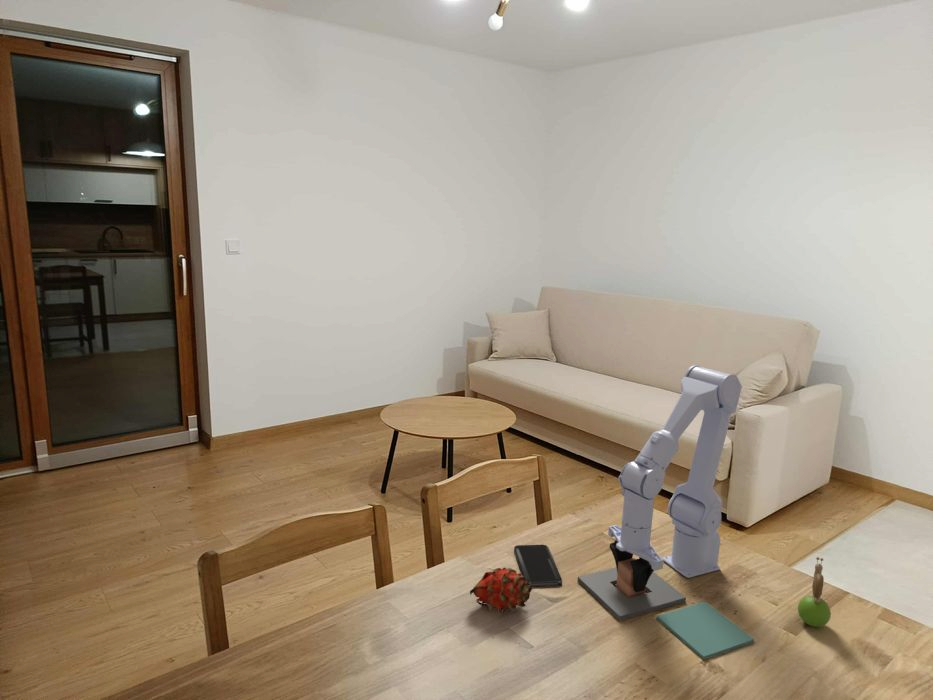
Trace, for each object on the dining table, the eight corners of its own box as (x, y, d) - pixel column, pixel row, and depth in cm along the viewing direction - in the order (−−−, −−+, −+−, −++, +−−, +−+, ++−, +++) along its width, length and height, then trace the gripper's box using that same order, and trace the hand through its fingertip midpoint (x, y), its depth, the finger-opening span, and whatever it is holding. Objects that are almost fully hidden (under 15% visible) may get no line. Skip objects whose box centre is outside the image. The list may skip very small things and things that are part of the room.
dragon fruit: (535, 617, 121) (474, 624, 121) (529, 574, 126) (470, 580, 127) (535, 602, 114) (470, 609, 115) (528, 557, 120) (466, 564, 120)
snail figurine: (826, 616, 121) (836, 560, 118) (829, 636, 115) (839, 577, 112) (795, 608, 123) (803, 553, 120) (796, 627, 117) (805, 570, 115)
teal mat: (704, 604, 124) (704, 601, 124) (754, 642, 113) (754, 639, 113) (656, 618, 119) (656, 615, 119) (703, 659, 108) (703, 656, 108)
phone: (525, 584, 128) (513, 545, 142) (525, 588, 128) (513, 549, 142) (563, 582, 128) (547, 544, 143) (563, 587, 129) (547, 548, 143)
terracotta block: (631, 584, 130) (634, 557, 129) (644, 594, 126) (647, 567, 125) (616, 588, 128) (618, 561, 127) (628, 599, 125) (631, 572, 123)
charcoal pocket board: (639, 565, 137) (639, 561, 136) (685, 601, 124) (686, 597, 124) (577, 581, 130) (577, 576, 130) (619, 621, 118) (620, 616, 118)
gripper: (598, 509, 129) (593, 569, 132) (644, 543, 116) (638, 608, 119) (626, 503, 132) (620, 562, 135) (674, 536, 119) (667, 600, 122)
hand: (631, 583), depth 127 cm, fingers open, 4 cm apart
